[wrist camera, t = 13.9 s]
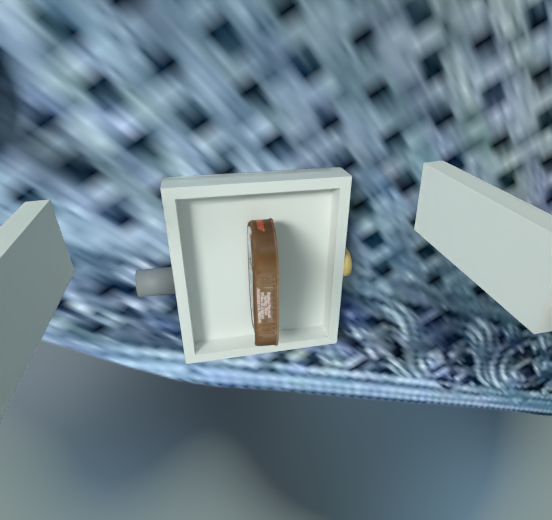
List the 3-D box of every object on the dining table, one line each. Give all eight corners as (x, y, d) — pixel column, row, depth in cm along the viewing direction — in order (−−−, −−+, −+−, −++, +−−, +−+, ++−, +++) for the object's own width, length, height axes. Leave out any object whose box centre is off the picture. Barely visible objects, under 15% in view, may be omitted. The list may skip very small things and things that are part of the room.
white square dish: (349, 166, 45) (361, 175, 42) (335, 325, 56) (344, 342, 53) (121, 180, 41) (116, 191, 38) (154, 349, 52) (152, 369, 49)
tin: (270, 316, 52) (284, 361, 44) (245, 319, 51) (256, 365, 44) (269, 205, 44) (285, 238, 37) (240, 208, 44) (252, 241, 37)
